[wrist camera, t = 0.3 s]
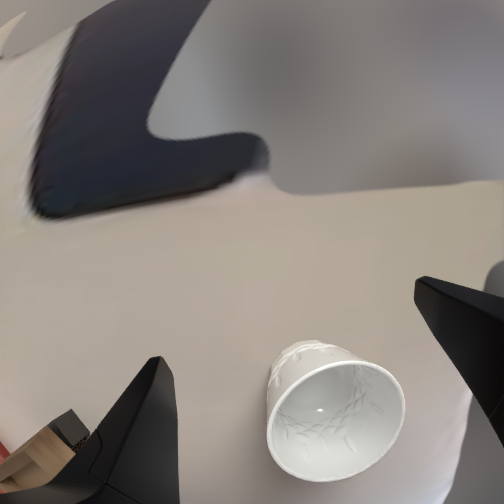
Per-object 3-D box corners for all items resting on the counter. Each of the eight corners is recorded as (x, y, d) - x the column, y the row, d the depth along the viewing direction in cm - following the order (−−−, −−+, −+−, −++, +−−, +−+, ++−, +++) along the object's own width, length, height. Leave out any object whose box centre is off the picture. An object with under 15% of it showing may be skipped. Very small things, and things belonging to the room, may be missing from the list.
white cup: (247, 403, 23) (244, 467, 13) (282, 319, 24) (303, 341, 14) (330, 426, 22) (366, 488, 13) (366, 348, 23) (426, 378, 13)
